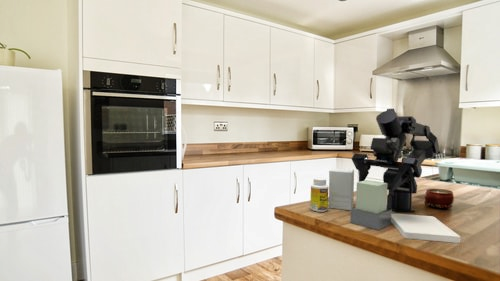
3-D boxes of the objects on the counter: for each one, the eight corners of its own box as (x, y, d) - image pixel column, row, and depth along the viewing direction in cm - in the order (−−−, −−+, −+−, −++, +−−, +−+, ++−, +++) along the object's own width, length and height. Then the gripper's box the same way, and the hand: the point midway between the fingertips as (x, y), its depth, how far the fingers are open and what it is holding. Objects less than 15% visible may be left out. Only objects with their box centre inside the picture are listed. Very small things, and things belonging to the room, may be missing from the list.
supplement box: (353, 205, 100) (355, 169, 99) (351, 211, 93) (352, 172, 93) (332, 202, 103) (332, 167, 103) (328, 207, 97) (328, 170, 96)
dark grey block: (363, 216, 87) (364, 197, 87) (391, 223, 81) (391, 202, 81) (350, 222, 82) (351, 201, 82) (378, 230, 76) (379, 207, 76)
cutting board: (388, 218, 86) (388, 213, 86) (432, 221, 84) (433, 216, 84) (404, 238, 71) (405, 232, 71) (460, 243, 68) (460, 236, 68)
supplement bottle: (319, 213, 90) (320, 180, 90) (306, 209, 95) (307, 178, 94) (331, 210, 93) (332, 179, 93) (318, 206, 98) (319, 176, 97)
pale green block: (365, 205, 86) (366, 179, 85) (386, 209, 81) (387, 183, 81) (355, 208, 82) (356, 182, 81) (377, 213, 77) (378, 185, 77)
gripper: (355, 128, 92) (335, 165, 85) (420, 128, 79) (403, 173, 72) (365, 151, 98) (348, 188, 91) (428, 156, 84) (413, 199, 77)
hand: (375, 186), depth 83 cm, fingers open, 9 cm apart
